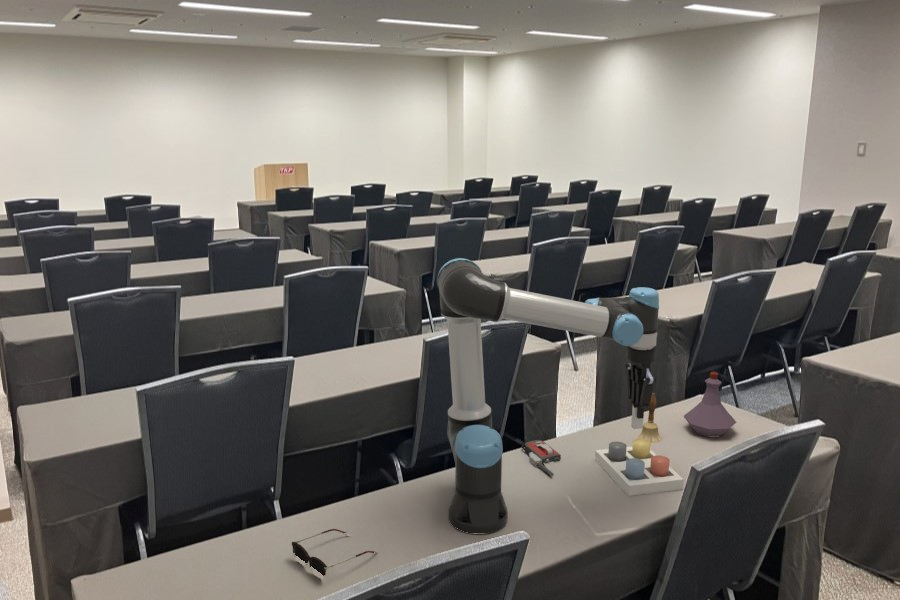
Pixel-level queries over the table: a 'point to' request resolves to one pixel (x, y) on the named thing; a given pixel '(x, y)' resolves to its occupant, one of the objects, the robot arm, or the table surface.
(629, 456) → the console
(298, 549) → the sunglasses
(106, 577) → the table surface
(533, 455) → the walkie-talkie
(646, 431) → the hand bell
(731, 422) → the flask
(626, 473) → the button slate
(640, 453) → the button mustard
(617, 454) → the button charcoal
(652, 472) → the button brick
